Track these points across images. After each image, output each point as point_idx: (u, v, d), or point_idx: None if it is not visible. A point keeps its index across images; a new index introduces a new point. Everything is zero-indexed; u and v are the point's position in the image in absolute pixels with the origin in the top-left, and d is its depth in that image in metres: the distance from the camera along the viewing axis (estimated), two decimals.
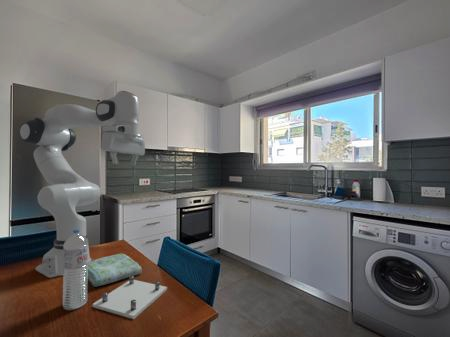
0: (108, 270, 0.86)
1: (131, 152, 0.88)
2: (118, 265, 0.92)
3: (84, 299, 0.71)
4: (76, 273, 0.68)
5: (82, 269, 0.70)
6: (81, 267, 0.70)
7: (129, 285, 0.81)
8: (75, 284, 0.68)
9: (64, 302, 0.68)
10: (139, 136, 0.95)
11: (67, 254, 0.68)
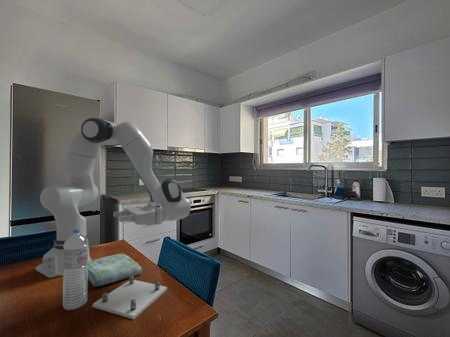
0: (108, 270, 0.86)
1: None
2: (118, 265, 0.92)
3: (84, 299, 0.71)
4: (76, 273, 0.68)
5: (82, 269, 0.70)
6: (81, 267, 0.70)
7: (129, 285, 0.81)
8: (75, 284, 0.68)
9: (64, 302, 0.68)
10: None
11: (67, 254, 0.68)
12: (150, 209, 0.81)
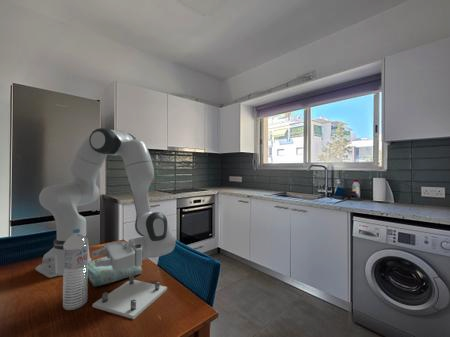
0: (108, 270, 0.86)
1: None
2: None
3: (84, 299, 0.71)
4: (76, 273, 0.68)
5: (82, 269, 0.70)
6: (81, 267, 0.70)
7: (129, 285, 0.81)
8: (75, 284, 0.68)
9: (64, 302, 0.68)
10: None
11: (67, 253, 0.68)
12: (130, 250, 0.77)
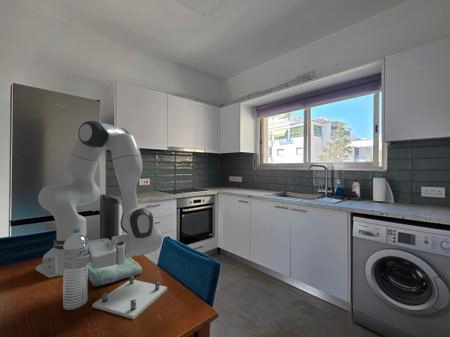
0: (108, 270, 0.86)
1: None
2: (119, 265, 0.92)
3: (84, 298, 0.71)
4: (76, 273, 0.69)
5: (82, 269, 0.70)
6: (81, 267, 0.70)
7: (129, 285, 0.81)
8: (75, 284, 0.68)
9: (64, 302, 0.68)
10: None
11: (67, 253, 0.68)
12: (111, 247, 0.73)
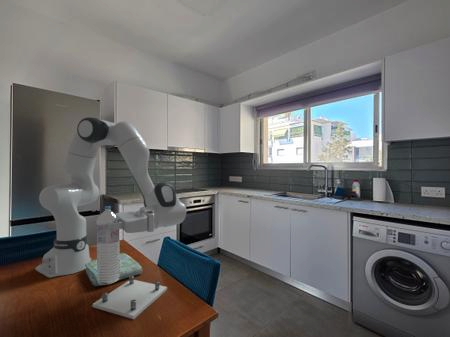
0: None
1: None
2: None
3: (117, 274, 0.72)
4: (110, 247, 0.70)
5: (115, 244, 0.72)
6: (114, 242, 0.71)
7: (129, 285, 0.81)
8: (109, 258, 0.70)
9: (99, 277, 0.69)
10: None
11: (100, 228, 0.70)
12: (142, 215, 0.75)
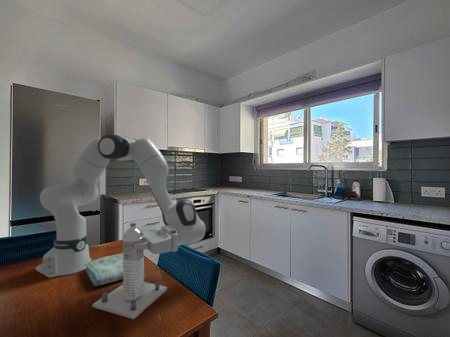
0: (109, 270, 0.86)
1: None
2: (119, 265, 0.92)
3: (142, 289, 0.74)
4: (136, 264, 0.72)
5: (141, 260, 0.74)
6: (140, 258, 0.73)
7: None
8: (136, 275, 0.72)
9: (125, 293, 0.71)
10: None
11: (127, 245, 0.72)
12: (165, 235, 0.77)
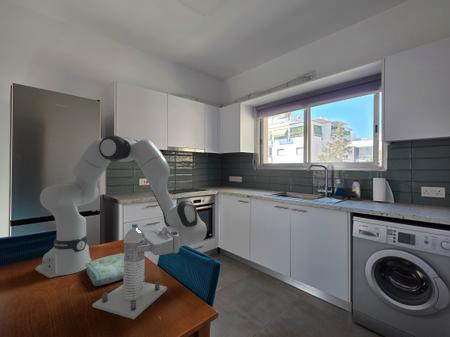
0: (109, 270, 0.86)
1: None
2: (119, 265, 0.92)
3: (142, 290, 0.74)
4: (137, 266, 0.72)
5: (141, 262, 0.73)
6: (140, 260, 0.73)
7: None
8: (136, 276, 0.72)
9: (125, 293, 0.71)
10: None
11: (128, 247, 0.72)
12: (167, 236, 0.77)
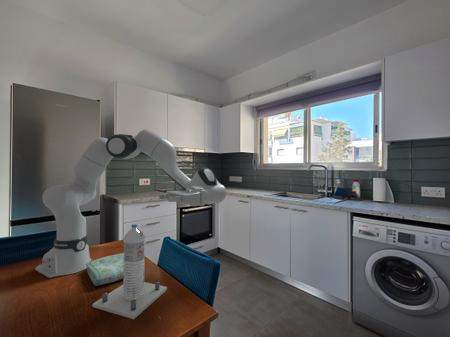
0: (109, 269, 0.87)
1: None
2: (119, 265, 0.92)
3: (142, 290, 0.74)
4: (136, 266, 0.72)
5: (141, 262, 0.73)
6: (140, 260, 0.73)
7: None
8: (136, 276, 0.72)
9: (125, 293, 0.71)
10: None
11: (128, 247, 0.71)
12: (194, 191, 0.87)
